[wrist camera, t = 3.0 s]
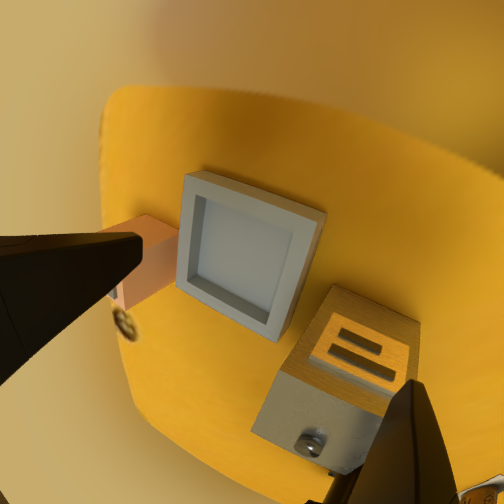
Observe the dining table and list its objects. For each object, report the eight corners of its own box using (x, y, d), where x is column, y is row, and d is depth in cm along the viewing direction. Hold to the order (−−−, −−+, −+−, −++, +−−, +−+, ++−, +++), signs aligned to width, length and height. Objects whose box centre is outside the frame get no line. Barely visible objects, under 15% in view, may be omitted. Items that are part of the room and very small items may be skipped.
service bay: (288, 327, 23) (276, 343, 21) (191, 276, 26) (175, 286, 24) (327, 213, 18) (317, 222, 16) (204, 170, 21) (185, 174, 20)
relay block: (179, 277, 27) (121, 313, 21) (145, 257, 29) (89, 285, 23) (183, 231, 25) (116, 262, 19) (146, 214, 27) (83, 237, 21)
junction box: (374, 387, 20) (339, 484, 13) (302, 353, 23) (244, 439, 15) (423, 318, 17) (413, 433, 9) (335, 278, 19) (275, 372, 11)
